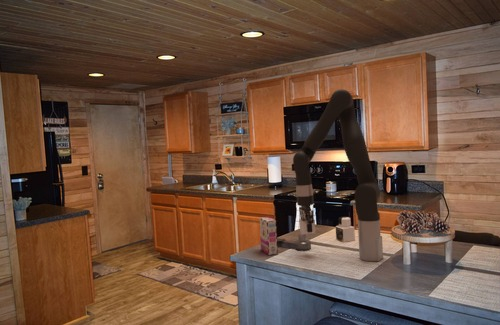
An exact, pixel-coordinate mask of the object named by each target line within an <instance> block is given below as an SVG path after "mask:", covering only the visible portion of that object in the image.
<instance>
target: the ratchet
mask: <svg viewBox="0 0 500 325" xmlns="http://www.w3.org/2000/svg"><path fill="white" fill-rule="evenodd" d="M306 235H307V234H303V233H301V232H300V233H298V239H296V240H287V239H286V238H278V237H277V248H285V249H286V248H287V249H292V250H293V249H294V250H295V251H297V252H298V251H299V252H307V251H310V250H312V241H311V240H309V239H307V236H306Z"/></svg>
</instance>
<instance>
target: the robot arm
mask: <svg viewBox="0 0 500 325" xmlns="http://www.w3.org/2000/svg"><path fill="white" fill-rule="evenodd" d="M355 110H356V109H355V103H354V98H353V95H352V94H351V93H350V92H349V91H348V90H347V89H343V88H339V89H336V90H335V91H333V93H332V94H331V96H330V98H329V101H328V103H327V105H326V108H325V110H324V111H323V112H322V114H321V116H320V118H319V120H318V121H317V123H316V124H315V125H314V127H313V128H312V130H311V131H310V133H309V134H308V135H307V137H306V139H305V140H304V142H303V143H304V144H303V145H302V147H301V148H300V149H299V151H298V152H296V153H295V154H294V155H293V159H292V164H293V169H294V173H295V184H296V186H295V187H296V189H295V191H296V192H295V193H296V204H297V206H299V208H298V209H299V211H298V212H299V217H300V218H299V219H305V220H306V222H307V232H312V223H314V220H315V216H314V215H315V214H314V210H313V209H311V206H313V205H314V189H313V184H312V175H311V173H310V166H309V164H310V163H311V161H312V159H313V158H314V157H315V154H316V153H317V151H318V150H319V149H320V147H321V145H322V144H323V142H324V141H325V140H326V139H327V136H328V134H329V132H330V130H331V128H332V126H333V125H334V123H335V122H336V120H337V119H338V120H339V124H340V128H341V129H340V131H341V139H342V144H343V148H344V152H345V156H346V157H347V160H348V162H349V164H350V165H351V167H352V168H353V171H354V172H355V175H356V178H357V182H358V183H357V184H358V185H357V187H356V188H355V192H354V202H355V203H354V204H355V212H356V216H357V230H358V231H357V232H358V234H357V235H358V253H359V254H358V255H359V259H360V260H361V261H364V262H365V261H366V262H380V261H381V260H382V259H383V258H384V251H383V248H384V247H383V236H382V235H381V216H380V215H381V214H380V212H379V210H378V199H379V198H380V196H381V189H380V187H379V184H378V181H377V178H376V177H375V174H374V172H373V168H372V164H371V161H370V155H369V151H368V147H367V144H366V141H365V138H364V134H363V131H362V129H361V126H360V124H359V122H358V119H357V115H356V111H355Z"/></svg>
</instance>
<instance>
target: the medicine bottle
mask: <svg viewBox="0 0 500 325" xmlns="http://www.w3.org/2000/svg"><path fill="white" fill-rule="evenodd" d="M335 239H336V240H337V241H340V242H341V243H347V242H353V241H355V240H356V233H355V226H352V222H351V217H350V216H340V217H338V225H336V226H335Z"/></svg>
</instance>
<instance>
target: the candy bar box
mask: <svg viewBox="0 0 500 325" xmlns="http://www.w3.org/2000/svg"><path fill="white" fill-rule="evenodd" d="M277 229H278V228H277V220H275V219H273V218H271V217H269V216H265V217H259V234H260V250H261V251H262V252H264V253H265V254H266V255H268V256H274V255H278V254H279V252H278V251H279V249H278V247H277V238H278V236H277V235H278V232H277Z"/></svg>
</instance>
